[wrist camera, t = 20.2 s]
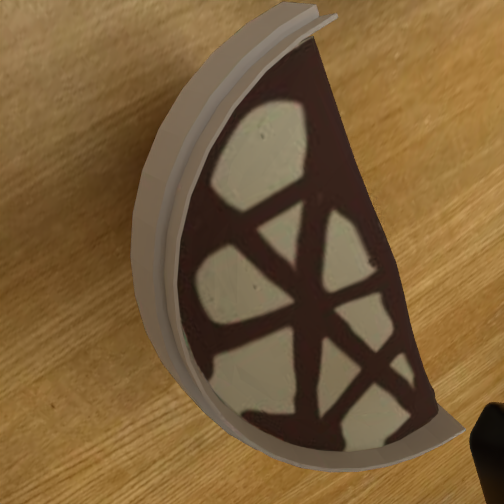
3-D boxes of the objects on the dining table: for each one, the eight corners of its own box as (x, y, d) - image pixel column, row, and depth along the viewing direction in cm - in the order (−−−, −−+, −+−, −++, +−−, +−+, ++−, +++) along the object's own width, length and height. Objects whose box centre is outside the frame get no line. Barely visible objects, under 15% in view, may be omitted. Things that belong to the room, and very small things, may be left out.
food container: (38, 115, 16) (-3, 138, 8) (196, 40, 17) (328, -19, 8) (196, 374, 22) (285, 573, 13) (311, 305, 23) (470, 443, 14)
